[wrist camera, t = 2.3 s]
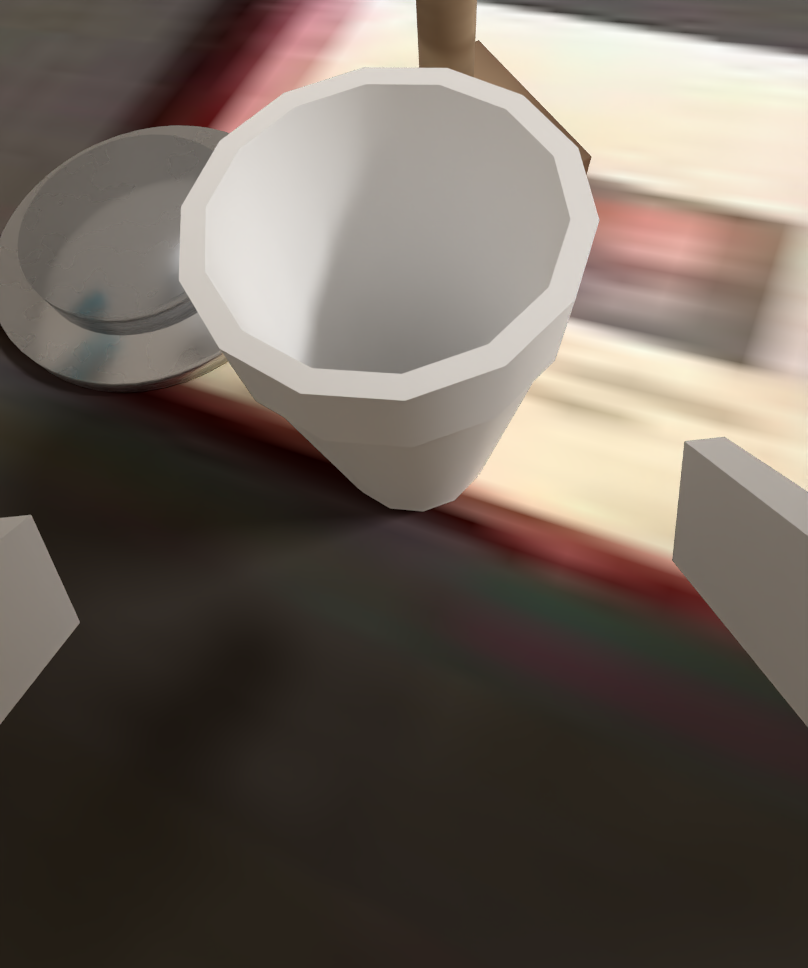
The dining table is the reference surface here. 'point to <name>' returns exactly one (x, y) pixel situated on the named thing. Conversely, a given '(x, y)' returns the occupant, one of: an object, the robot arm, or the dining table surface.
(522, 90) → the stand
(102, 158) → the grey plate
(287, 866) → the dining table surface
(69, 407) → the dining table surface
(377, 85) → the foam cup
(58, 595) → the robot arm
